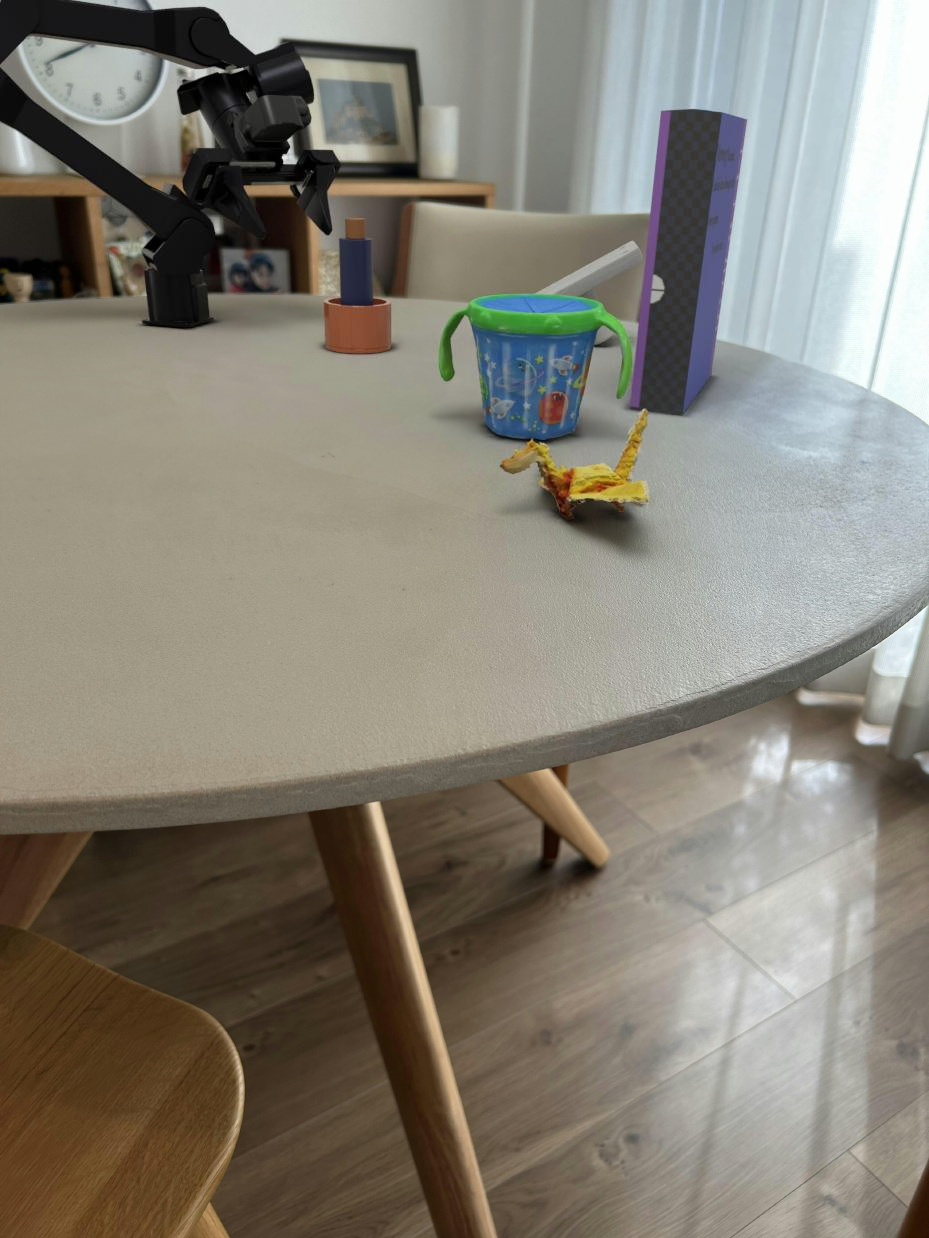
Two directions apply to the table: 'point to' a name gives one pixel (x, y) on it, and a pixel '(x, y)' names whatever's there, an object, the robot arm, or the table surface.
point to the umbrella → (356, 264)
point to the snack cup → (534, 359)
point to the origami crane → (587, 474)
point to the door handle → (597, 278)
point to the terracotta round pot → (357, 326)
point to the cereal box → (686, 256)
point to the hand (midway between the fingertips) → (297, 234)
